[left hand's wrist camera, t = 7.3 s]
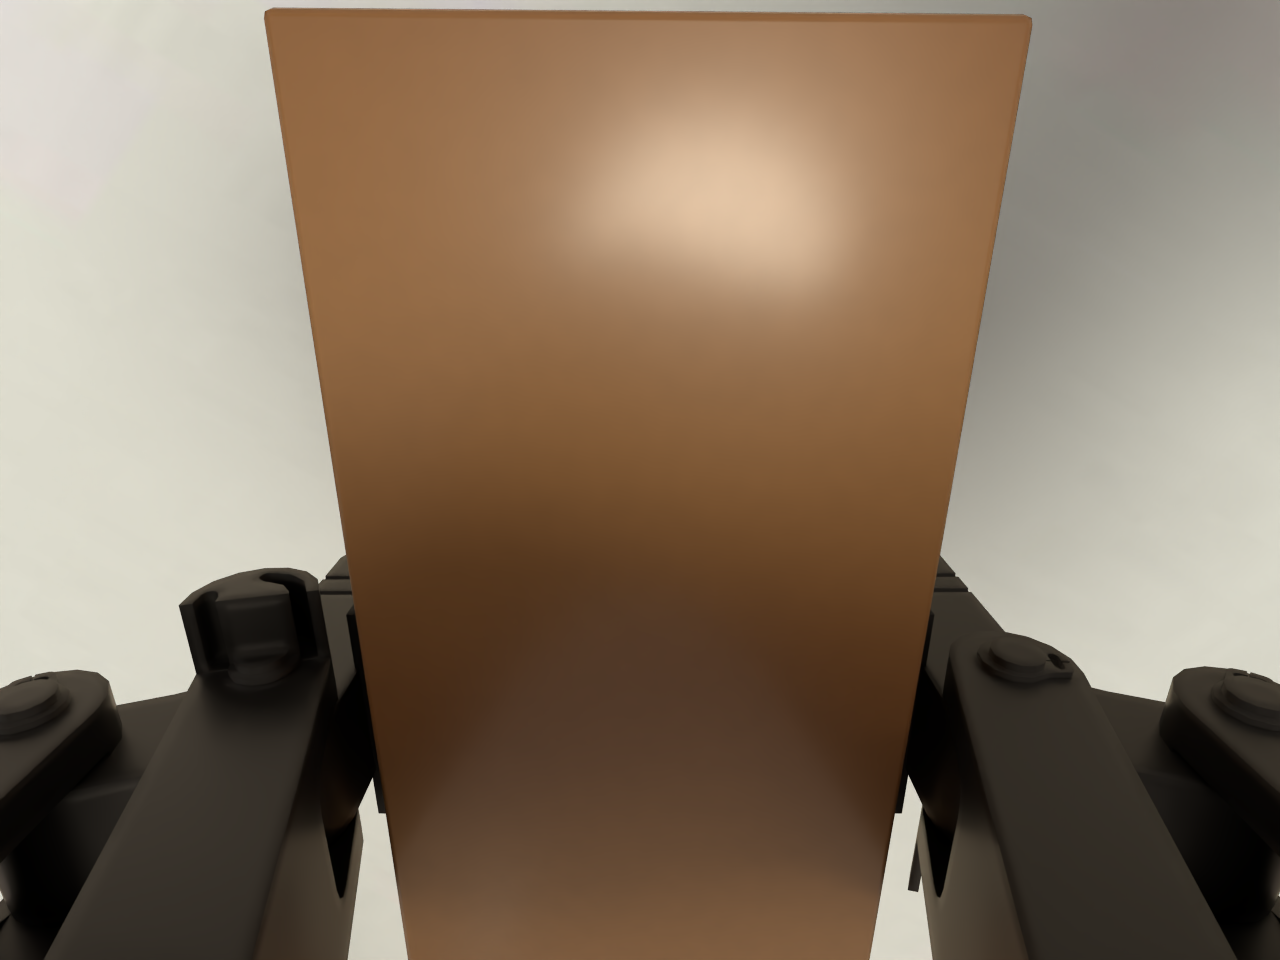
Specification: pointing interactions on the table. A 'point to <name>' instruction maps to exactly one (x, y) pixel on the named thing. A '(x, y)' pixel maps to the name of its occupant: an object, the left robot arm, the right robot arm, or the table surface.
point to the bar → (643, 445)
